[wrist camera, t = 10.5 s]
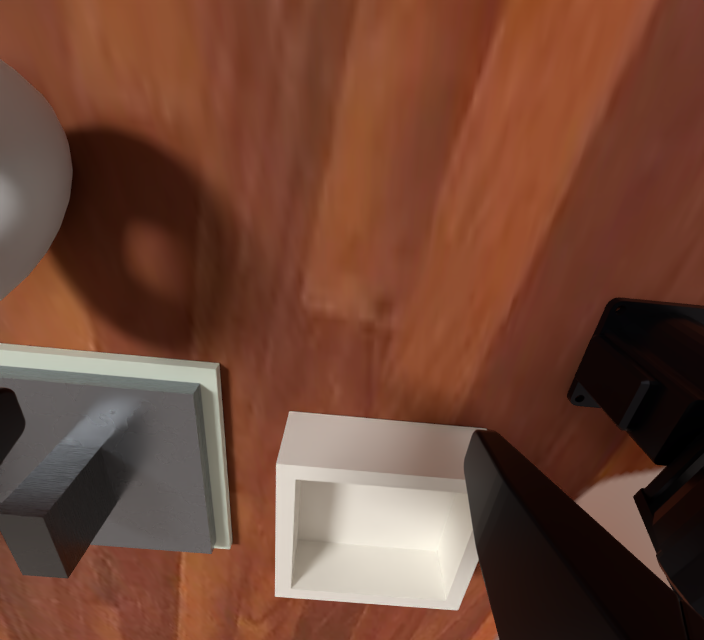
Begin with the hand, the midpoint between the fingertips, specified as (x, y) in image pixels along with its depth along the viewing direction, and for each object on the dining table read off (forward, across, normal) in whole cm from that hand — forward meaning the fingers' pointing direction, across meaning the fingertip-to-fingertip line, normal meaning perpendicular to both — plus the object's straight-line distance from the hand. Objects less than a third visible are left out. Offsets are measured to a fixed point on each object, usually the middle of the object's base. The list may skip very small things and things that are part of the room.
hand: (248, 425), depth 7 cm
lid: (+11, +13, +15) cm, 23 cm away
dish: (+12, -5, +16) cm, 21 cm away
